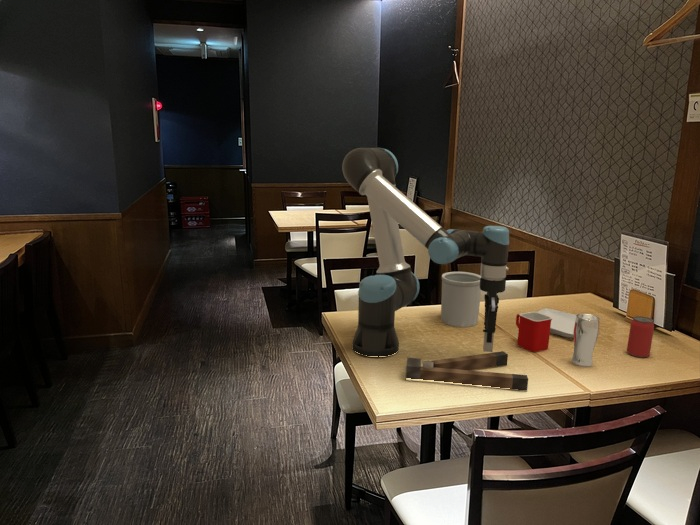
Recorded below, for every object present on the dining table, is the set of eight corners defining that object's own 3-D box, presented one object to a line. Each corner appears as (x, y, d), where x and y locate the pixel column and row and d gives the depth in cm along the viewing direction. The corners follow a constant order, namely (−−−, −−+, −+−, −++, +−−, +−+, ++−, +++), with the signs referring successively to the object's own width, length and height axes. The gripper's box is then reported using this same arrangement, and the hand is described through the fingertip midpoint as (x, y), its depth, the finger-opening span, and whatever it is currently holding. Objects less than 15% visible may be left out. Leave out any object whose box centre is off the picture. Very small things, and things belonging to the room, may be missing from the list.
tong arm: (434, 375, 148) (435, 364, 147) (430, 371, 150) (431, 360, 150) (506, 365, 156) (508, 354, 155) (502, 361, 158) (503, 351, 157)
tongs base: (405, 380, 145) (406, 365, 144) (406, 371, 151) (407, 356, 150) (527, 391, 140) (528, 375, 139) (523, 381, 146) (525, 366, 145)
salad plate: (517, 326, 191) (517, 318, 190) (545, 314, 204) (546, 306, 204) (572, 343, 175) (574, 334, 174) (599, 329, 189) (601, 320, 188)
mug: (551, 348, 169) (554, 318, 167) (533, 353, 166) (536, 321, 163) (523, 336, 180) (526, 307, 177) (506, 340, 176) (508, 310, 174)
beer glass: (587, 358, 162) (593, 313, 159) (598, 367, 156) (605, 320, 152) (565, 358, 162) (571, 313, 159) (575, 367, 155) (581, 320, 152)
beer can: (637, 359, 162) (643, 323, 160) (621, 351, 169) (626, 316, 166) (654, 357, 164) (660, 321, 161) (638, 349, 170) (643, 314, 168)
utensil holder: (471, 330, 184) (475, 283, 180) (433, 322, 192) (435, 277, 188) (484, 319, 197) (488, 275, 193) (447, 312, 204) (450, 269, 200)
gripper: (508, 283, 148) (502, 360, 153) (503, 273, 161) (497, 343, 166) (482, 282, 149) (477, 358, 154) (478, 271, 162) (474, 342, 167)
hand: (487, 350), depth 160 cm, fingers closed
